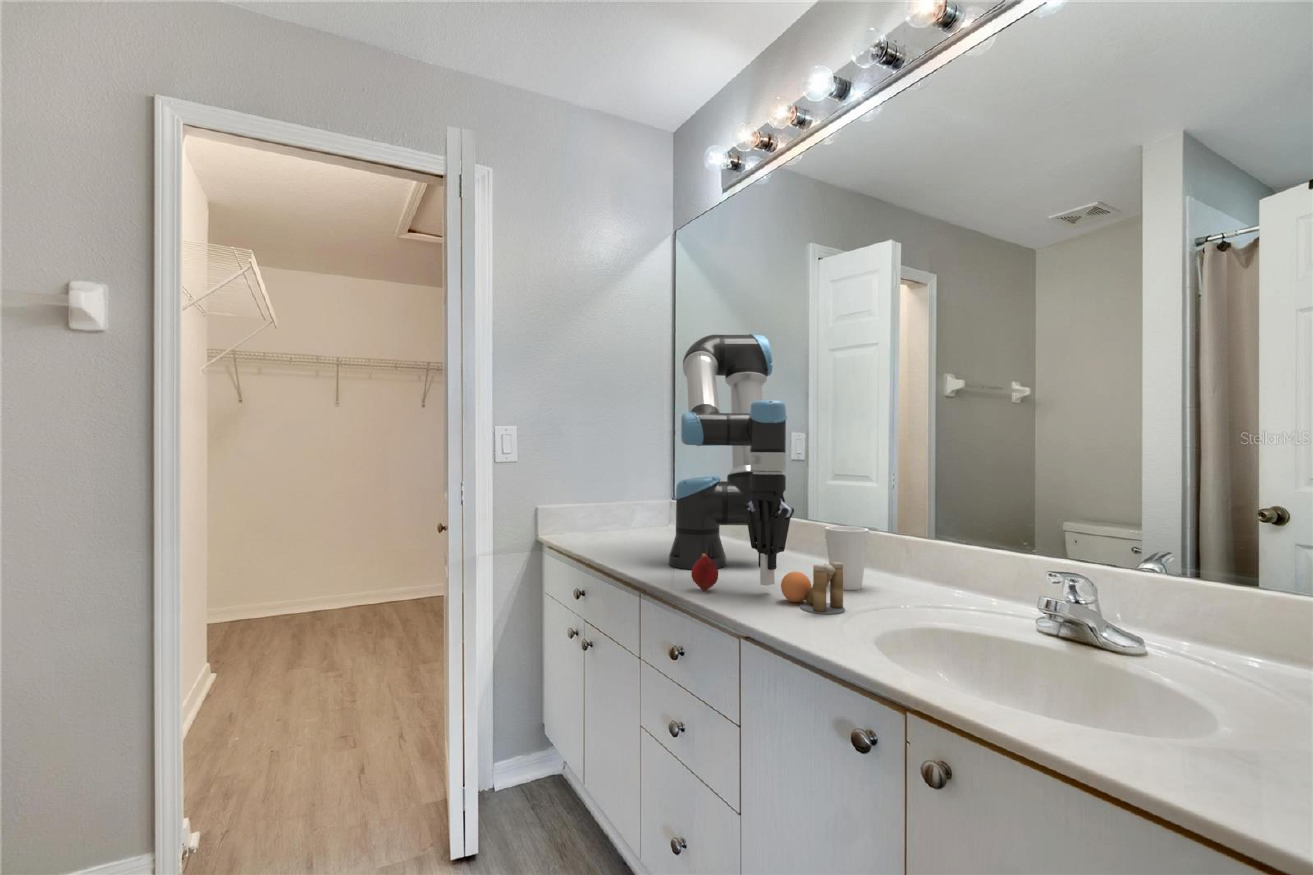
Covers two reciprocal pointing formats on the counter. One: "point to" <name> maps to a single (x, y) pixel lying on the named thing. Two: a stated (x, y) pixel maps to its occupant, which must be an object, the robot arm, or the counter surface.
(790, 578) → the ball
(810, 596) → the pin front
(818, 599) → the pin
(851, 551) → the foam cup
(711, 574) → the onion
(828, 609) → the pin spot
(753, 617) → the counter surface
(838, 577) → the pin
